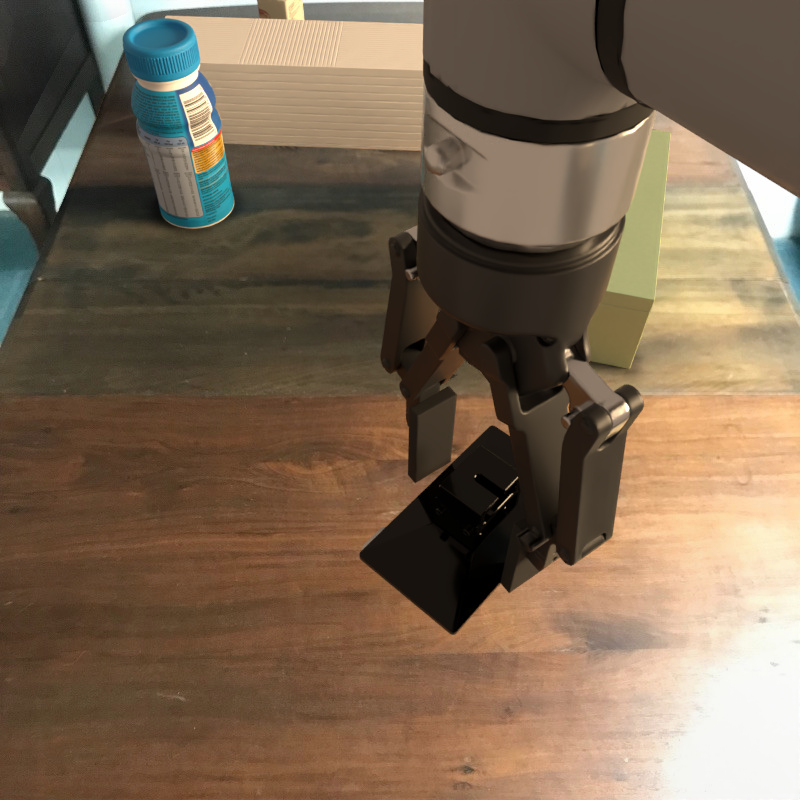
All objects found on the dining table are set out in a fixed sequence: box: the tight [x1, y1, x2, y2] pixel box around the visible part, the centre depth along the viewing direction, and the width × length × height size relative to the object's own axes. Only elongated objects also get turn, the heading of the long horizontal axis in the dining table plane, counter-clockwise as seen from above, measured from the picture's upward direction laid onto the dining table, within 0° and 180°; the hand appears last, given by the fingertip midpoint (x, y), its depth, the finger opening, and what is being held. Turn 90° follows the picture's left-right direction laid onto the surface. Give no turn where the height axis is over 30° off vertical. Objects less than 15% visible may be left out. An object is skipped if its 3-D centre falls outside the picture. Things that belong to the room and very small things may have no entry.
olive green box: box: [588, 128, 672, 370], centre depth 79 cm, size 14×26×12 cm, turn 165°
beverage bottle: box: [122, 17, 235, 230], centre depth 81 cm, size 8×8×20 cm
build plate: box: [358, 424, 525, 636], centre depth 44 cm, size 12×7×5 cm, turn 138°
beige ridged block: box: [164, 15, 424, 152], centre depth 95 cm, size 32×11×11 cm, turn 87°
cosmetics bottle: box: [256, 0, 305, 20], centre depth 105 cm, size 5×4×10 cm
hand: (474, 518), depth 46 cm, fingers closed on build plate, 8 cm apart
